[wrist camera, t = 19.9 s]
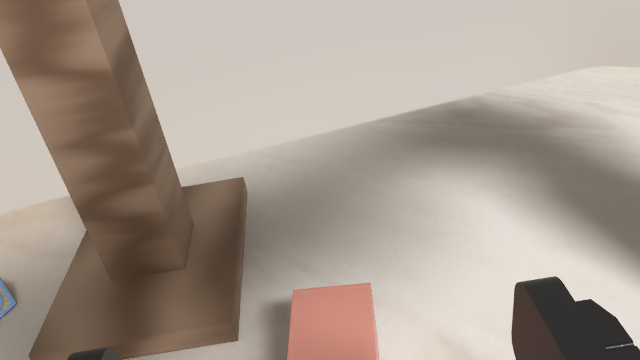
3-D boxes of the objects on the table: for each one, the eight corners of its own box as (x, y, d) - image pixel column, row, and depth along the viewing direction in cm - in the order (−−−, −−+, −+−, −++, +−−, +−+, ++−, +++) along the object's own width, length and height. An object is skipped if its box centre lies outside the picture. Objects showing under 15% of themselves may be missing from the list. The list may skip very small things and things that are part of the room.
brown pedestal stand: (247, 192, 46) (117, -308, 29) (237, 340, 32) (-18, -435, 15) (106, 215, 46) (-107, -269, 29) (39, 372, 32) (-438, -361, 15)
